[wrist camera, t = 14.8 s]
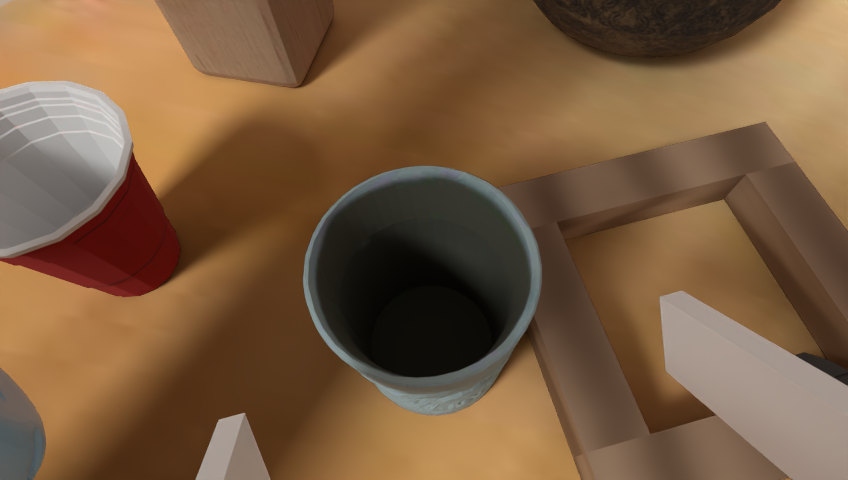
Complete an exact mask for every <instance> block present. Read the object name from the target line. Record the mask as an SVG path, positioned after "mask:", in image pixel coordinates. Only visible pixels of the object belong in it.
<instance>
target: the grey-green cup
mask: <svg viewBox="0 0 848 480" xmlns="http://www.w3.org/2000/svg"><path fill="white" fill-rule="evenodd" d="M541 285H542V264H541V259H540V253H539V248H538V244H537V241H536V239H535V236H534V234H533V232H532V230H531V228H530V226H529V224H528V223H527V221H526V220H525V218H524V217H523V215H522V213H521V212H520V211H519V209H518V208H517V207H516V206H515V204H514V203H513V202H512V201H511V200H510V199H509V198H508V197H507V196H506V195H505V194H504V193H503V192H501V191H500V190H499V189H497V188H496V187H494V186H493V185H491V184H490V183H488V182H487V181H485V180H482V179H480V178H478V177H476V176H474V175H472V174H469V173H467V172H463V171H459V170H456V169H452V168H446V167H440V166H414V167H404V168H400V169H396V170H392V171H388V172H384V173H382V174H379V175H377V176H374V177H372V178H370V179H368V180H366V181H364V182H362V183H360V184H359V185H357V186H355V187H353V188H352V189H351V190H349V191H348V192H347V193H346V194H344V195H343V196H342V197H341V198H340V199H339V200H338V201H337V202H336V203H335V204H334V205H333V206H332V207H331V208H330V209H329V210H328V211H327V212H326V214H325V215H324V216H323V217H322V219H321V221H320V222H319V224H318V226H317V228H316V229H315V231H314V233H313V235H312V238H311V241H310V244H309V246H308V249H307V252H306V255H305V263H304V274H303V286H304V294H305V299H306V303H307V306H308V309H309V311H310V314H311V317H312V320H313V322H314V324H315V326H316V328H317V330H318V332H319V334H320V335H321V336H322V338H323V339H324V341H325V342H326V343H327V345H328V346H329V347H330V348H331V349H332V350H333V351H334V352H335V353H336V354H337V355H338V356H339V357H340V358H341V359H342V360H343V361H344V362H346V363H347V364H348V365H350V366H351V367H353V368H354V369H355V370H357V371H358V372H360V374H361V375H362V376H363V377H365V378H366V379H368V380H369V381H371V382H373V383H375V385H376V387H377V388H378V389H379V391H381V392H382V393H383V394H384V395H385V396H387V397H388V398H389V399H390V400H391V401H393V402H394V403H395V404H397V405H399V406H400V407H402V408H404V409H406V410H409V411H412V412H415V413H419V414H424V415H445V414H450V413H455V412H457V411H460V410H462V409H464V408H466V407H469V406H470V405H472V404H473V403H475V402H476V401H478V400H479V399H480V398H481V397H482V396H483V395H484V394H485V393H486V392H487V391H488V390H489V389H490V388H491V386H492V385H493V383H494V382H495V380H496V378H497V376H498V375H499V373H500V371H501V370H502V369H503V367H504V365H505V363H506V362H507V361H508V359H509V357H510V355H511V353H512V351H513V350H514V348H515V346H516V344H517V343H518V341H519V340H520V339H521V337H522V336H523V334H524V333H525V331H526V330H527V328H528V326H529V324H530V322H531V320H532V318H533V316H534V314H535V311H536V307H537V304H538V301H539V297H540V292H541Z"/></svg>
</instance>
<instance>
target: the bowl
mask: <svg viewBox="0 0 848 480" xmlns="http://www.w3.org/2000/svg"><path fill="white" fill-rule="evenodd" d="M780 1H781V0H534V2H535V3H536V4H537V6H538V7H539V9H540V10H541V11H542V12H543V13H544V15H545V16H546V17H547V18H548V19H549V20H550V21H551V23H553V24H554V25H555V26H556V27H558V28H559V29H560V30H562V31H563V32H564V33H566V34H567V35H569V36H571V37H573V38H575V39H576V40H578V41H580V42H582V43H584V44H586V45H589V46H592V47H595V48H598V49H601V50H603V51H607V52H612V53H617V54H621V55H626V56H638V57H664V56H675V55H680V54H684V53H689V52H693V51H696V50H699V49H701V48H704V47H706V46H709V45H711V44H714V43H716V42H719V41H721V40H723V39H726V38H728V37H731V36H733V35H735V34H736V33H738V32H739V31H741V30H742V29H744V28H745V27H747V26H748V25H750V24H751V23H753V22H754V21H756V20H757V19H759V18H760V17H762V16H763V15H765V14H766V13H767V12H769V11H770V10H772V9H773V8H775V7H776V5H777V4H778V3H779V2H780Z"/></svg>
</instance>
